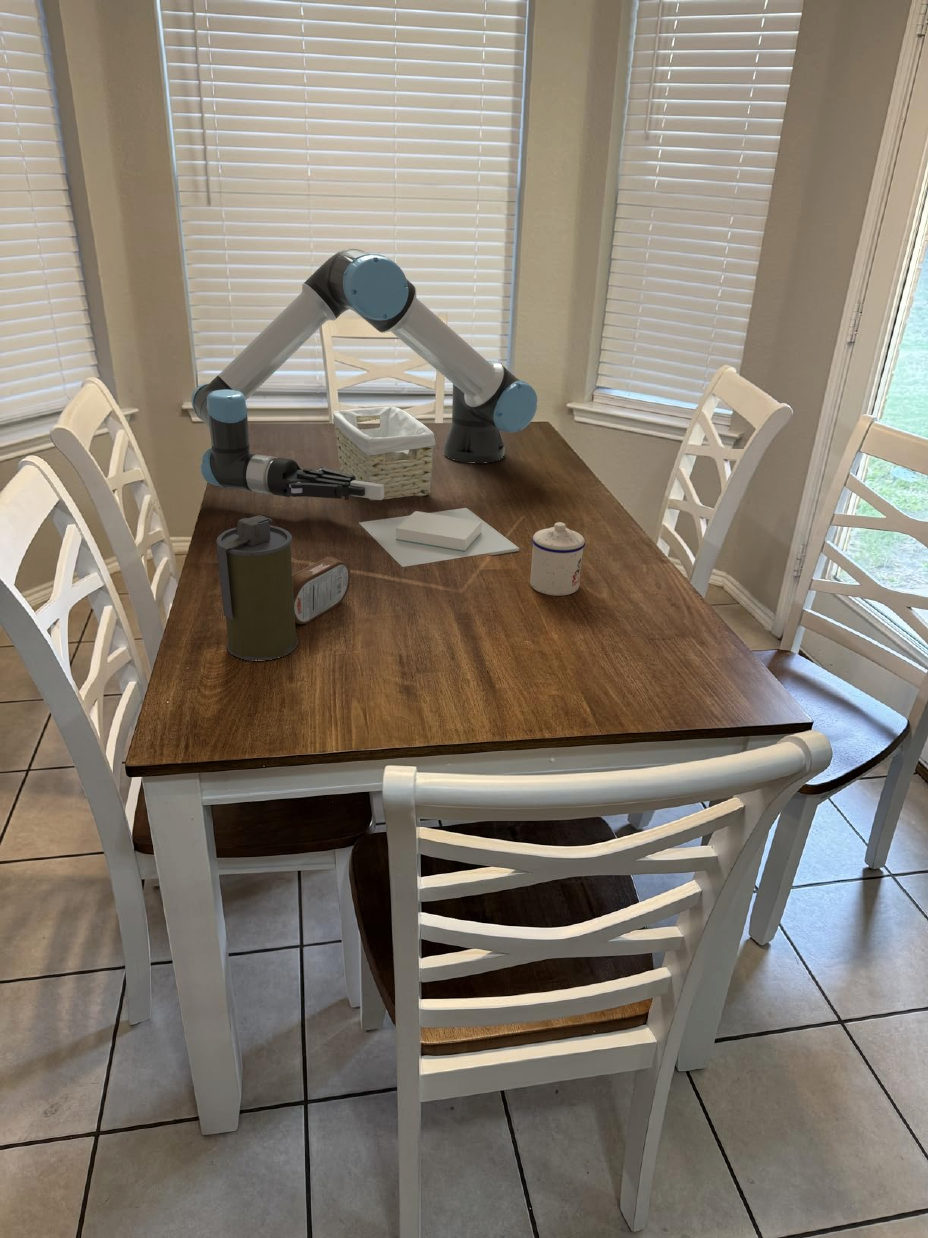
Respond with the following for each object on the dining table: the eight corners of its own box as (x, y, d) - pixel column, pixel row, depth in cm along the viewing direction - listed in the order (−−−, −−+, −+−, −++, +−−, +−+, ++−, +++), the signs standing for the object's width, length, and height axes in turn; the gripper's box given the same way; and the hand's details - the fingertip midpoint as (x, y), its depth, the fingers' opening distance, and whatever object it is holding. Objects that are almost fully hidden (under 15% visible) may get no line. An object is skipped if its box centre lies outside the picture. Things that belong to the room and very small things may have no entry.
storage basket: (437, 498, 192) (438, 431, 186) (366, 506, 186) (365, 438, 179) (397, 465, 211) (397, 404, 205) (332, 472, 205) (330, 409, 198)
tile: (395, 527, 168) (465, 539, 164) (415, 510, 176) (481, 521, 172) (395, 540, 169) (464, 551, 165) (415, 522, 177) (481, 533, 173)
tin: (339, 594, 149) (338, 548, 145) (354, 599, 147) (353, 552, 144) (279, 628, 137) (276, 580, 133) (294, 634, 136) (292, 585, 132)
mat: (466, 510, 186) (466, 507, 186) (518, 550, 168) (519, 548, 168) (358, 525, 176) (358, 522, 176) (402, 569, 158) (402, 566, 158)
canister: (267, 621, 139) (258, 502, 130) (312, 644, 133) (306, 520, 124) (210, 646, 131) (196, 521, 122) (255, 671, 126) (244, 541, 116)
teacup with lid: (583, 598, 151) (590, 535, 145) (530, 596, 151) (535, 533, 145) (575, 569, 161) (581, 509, 156) (526, 567, 161) (530, 507, 156)
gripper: (291, 483, 185) (395, 499, 178) (259, 504, 174) (368, 521, 167) (289, 449, 181) (395, 464, 175) (256, 467, 170) (367, 484, 164)
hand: (382, 492), depth 171 cm, fingers closed
